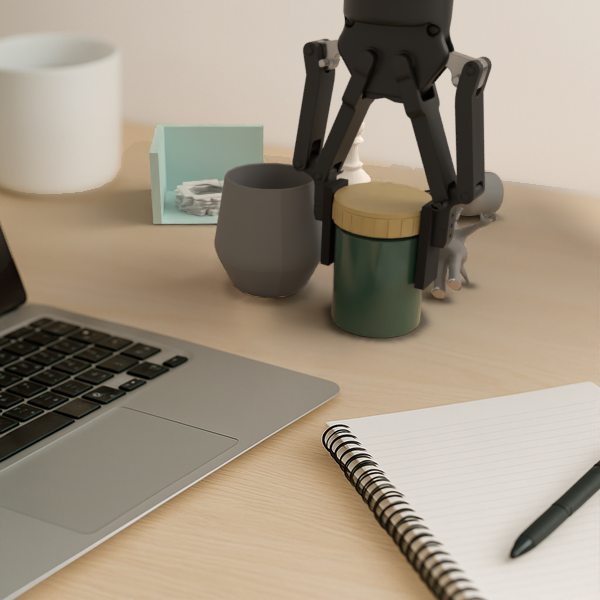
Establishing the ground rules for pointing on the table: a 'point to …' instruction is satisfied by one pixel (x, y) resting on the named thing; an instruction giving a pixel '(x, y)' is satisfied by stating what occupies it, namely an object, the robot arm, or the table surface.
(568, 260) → the table surface
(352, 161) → the chess pawn
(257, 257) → the cup
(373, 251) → the jar
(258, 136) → the l-shaped corner panel
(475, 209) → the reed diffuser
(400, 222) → the jar lid
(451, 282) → the elephant figurine
